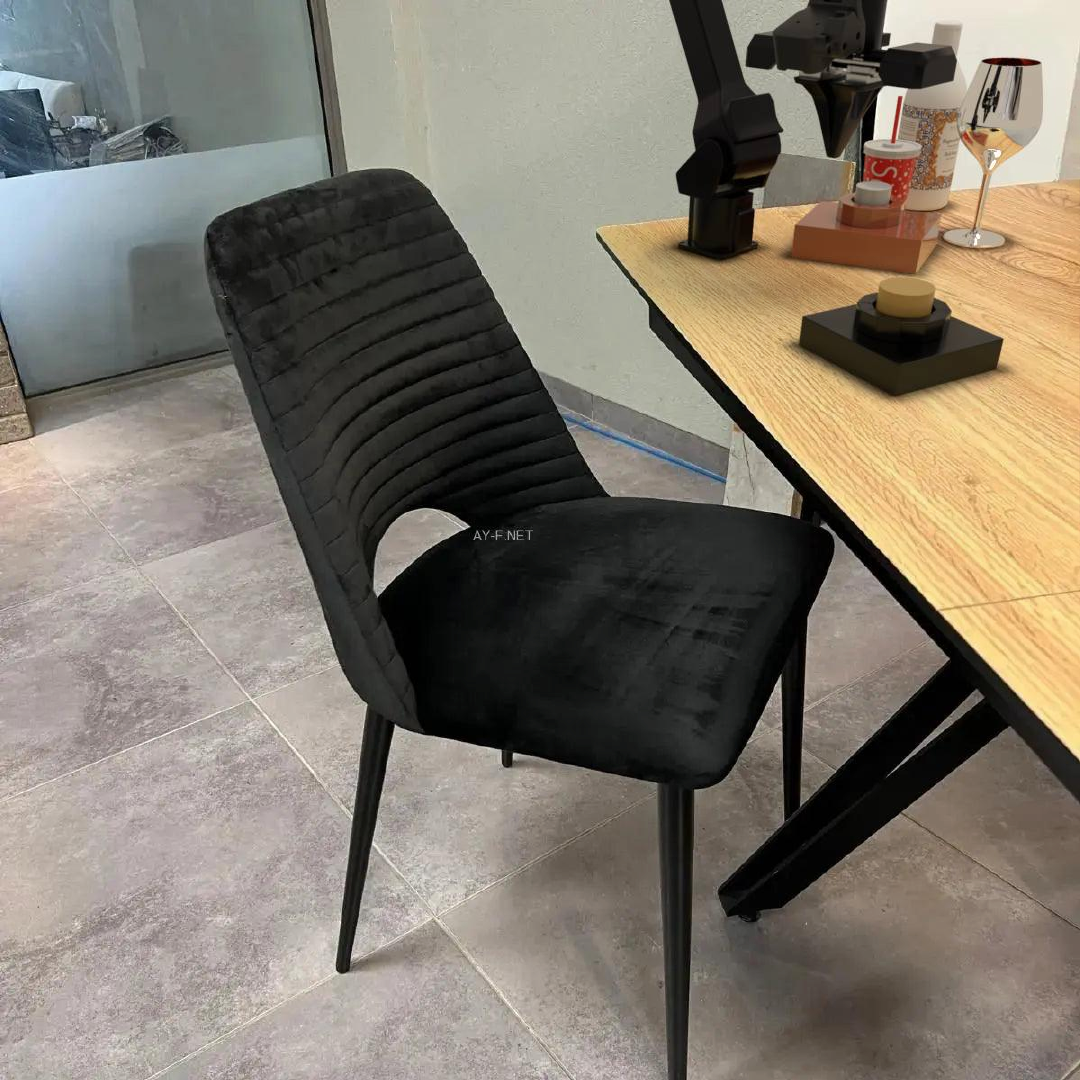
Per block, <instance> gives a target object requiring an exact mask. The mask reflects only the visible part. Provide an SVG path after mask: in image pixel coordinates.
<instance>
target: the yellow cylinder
mask: <svg viewBox="0 0 1080 1080" xmlns="http://www.w3.org/2000/svg"><path fill="white" fill-rule="evenodd" d="M936 290H937V289H936V286H935V285H934V284H933V283H932V282H929V281H927V280H924V279H920V278H916V277H905V276H904V277H902V276H901V277H900V276H898V277H889V278H886V279H882V280H881V281H880V282H879V285H878V291H877V292H878V296H877V302H876V310H878V311H880V312H882V313H884V314H887V315H892V316H897V317H911V318H919V317H923V316H928V315H931V310H932V305H933V300H934V298H935V295H936Z"/></svg>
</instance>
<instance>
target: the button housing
mask: <svg viewBox="0 0 1080 1080" xmlns="http://www.w3.org/2000/svg"><path fill="white" fill-rule="evenodd" d="M854 196H855V192H849V193H846V194H843V195H841V197H839V198H838V202H835V201H826V200H821V201H820V202H818V204H816V206H814V207H813V208H812V209H811V210H810V211H809V212H808V213H807V214H805V215H804V216H803V217H802V218H801V219H799V221H798V222H796V223H795V224H794V229H793V238H792V248H791V254H790V255H791V256H790V257H791V258H795V259H801V260H802V259H803V260H809V261H817V262H824V263H831V264H838V265H845V266H852V267H860V268H868V269H874V270H883V271H889V272H897V273H903V274H912V275H916V274H917V273H918V272H919V271H920V269H921V268H922V266H923V264H924V263H925V262H926V260H928V258H929V256H930V255H931V254H932V252H933V250H934V249H935V248H936V246H937V241H938V237H939V230H940V226H941V220H942V214H941V213H933V212H926V211H915V210H907V209H904V205H905V201H904V200H902V199H901V198H900V197H897V196H894V195H891V196H890V202H889V204H888V205H884V206H868V205H860V204H857V203H854Z"/></svg>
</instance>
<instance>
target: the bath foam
mask: <svg viewBox="0 0 1080 1080" xmlns="http://www.w3.org/2000/svg"><path fill="white" fill-rule="evenodd" d="M963 25H964V23H963V22H962V21H958V20H939V21H936V22H935V23H934V28H933V33H932V38H931V39H932V40H931V44H937V45H947V46H952V48H953V51H954V53H955V56H956V59H957V64H956V70H955V75H954V81H951V82H947V83H943V84H939V85H935V86H931V87H927V88H923V89H906V92H905V95H904V99H903V102H902V108H901V114H900V120H899V121H900V122H899V127H898V133H897V139H899V140H907V141H912V142H916V143H918V144H920V145H921V151H920V155H919V156H917V158H916V162H915V167H914V171H913V175H912V179H911V184H910V188H909V192H908V197H907V201H906V205H905V209H904V210H907V211H916V212H929V211H936V210H941V209H942V208H944V207H945V206H947V204H948V203H949V199H950V193H951V188H952V184H953V179H954V173H955V168H956V163H957V157H958V153H959V147H960V142H961V139H960V137H959V134H958V131H957V117H958V113H959V110H960V107H961V104H962V102H963V100H964V97H965V95H966V93H967V90H968V86H967V85H968V84H967V81H966V78H965V75H964V72H963V70H962V67H961V65H960V62H959V61H958V57H957V56H958V52H959V47H960V42H961V35H962V30H963Z"/></svg>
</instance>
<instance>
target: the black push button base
mask: <svg viewBox="0 0 1080 1080" xmlns="http://www.w3.org/2000/svg"><path fill="white" fill-rule="evenodd" d="M877 296H878V291H877V292H873V293H869V294H865V295H863V296H862V297H861V298H860V299H859V300H857V302H856V303H854V304H851V305H846V306H842V307H836V308H832V309H828V310H824V311H819V312H814V313H811V314H806V315H802V317H801V323H800V332H799V341H798V345H799V346H800V347H802V348H803V349H805V350H807V351H809V352H811V353H813V354H814V355H816V356H819V357H820V358H822V359H824V360H826V361H827V362H829V363H831V364H833V365H834V366H837V367H838V368H840V369H843V370H844V371H846V372H847V373H850V374H852V375H853V376H855V377H857V378H859V379H860V380H863V381H865V382H866V383H868V384H870V385H872V386H874V387H876V388H878V389H879V390H881V391H883V392H884V393H886V394H888V395H890V396H892V397H898V396H901V395H902V396H903V395H906V394H910V393H913V392H917V391H920V390H924V389H928V388H931V387H935V386H939V385H943V384H946V383H950V382H954V381H957V380H960V379H964V378H968V377H971V376H972V377H973V376H975V375H979V374H984V373H986V372H990V371H994V370H997V369H998V365H999V361H1000V357H1001V352H1002V348H1003V343H1004V340H1005V339H1004V338H1003V337H1001V336H999V335H997V334H995V333H991V332H990V331H987V330H985V329H983V328H980V327H977V326H975V325H973V324H970V323H968V322H965V321H964V320H962V319H959V318H958V317H954V316H952V313H953V312H952V309H951V308H950V306H949V305H948V303H947V302H945V301H943V300H941V299H939V298H936V297H934V300H933V305H932V310H931V315H928V316H923V317H919V318H911V317H897V316H892V315H887V314H884V313H882V312H880V311H878V310H876V302H877Z"/></svg>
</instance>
